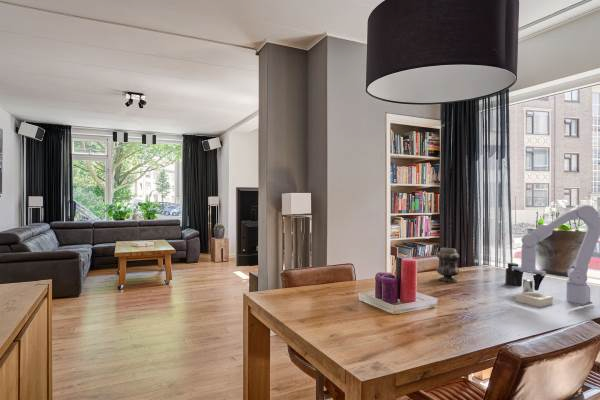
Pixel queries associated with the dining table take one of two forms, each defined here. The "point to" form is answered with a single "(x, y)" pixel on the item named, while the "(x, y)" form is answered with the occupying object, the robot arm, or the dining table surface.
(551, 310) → the dining table surface
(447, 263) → the apothecary jar
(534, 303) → the cream recessed block
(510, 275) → the supplement bottle
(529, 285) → the metal peg
